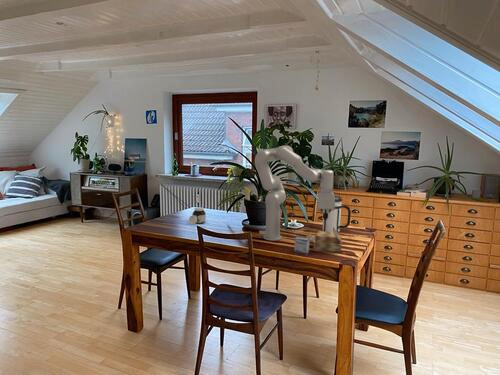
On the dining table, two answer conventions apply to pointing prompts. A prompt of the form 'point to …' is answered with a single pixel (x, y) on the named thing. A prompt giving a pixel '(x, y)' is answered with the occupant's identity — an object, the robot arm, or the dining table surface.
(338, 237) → the flap
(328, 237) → the carton
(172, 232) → the dining table surface
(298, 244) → the medicine box
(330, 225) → the coffee press
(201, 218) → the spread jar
